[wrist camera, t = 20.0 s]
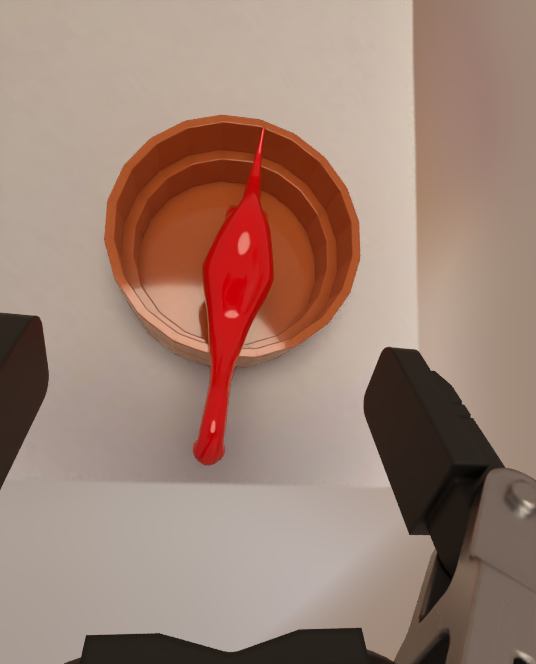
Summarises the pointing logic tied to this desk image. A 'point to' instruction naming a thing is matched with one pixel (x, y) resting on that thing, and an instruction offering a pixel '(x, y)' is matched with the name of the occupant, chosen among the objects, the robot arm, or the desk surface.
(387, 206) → the desk surface
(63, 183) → the desk surface
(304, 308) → the terracotta bowl
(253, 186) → the dinosaur
